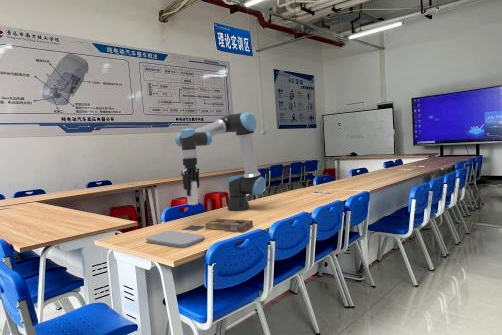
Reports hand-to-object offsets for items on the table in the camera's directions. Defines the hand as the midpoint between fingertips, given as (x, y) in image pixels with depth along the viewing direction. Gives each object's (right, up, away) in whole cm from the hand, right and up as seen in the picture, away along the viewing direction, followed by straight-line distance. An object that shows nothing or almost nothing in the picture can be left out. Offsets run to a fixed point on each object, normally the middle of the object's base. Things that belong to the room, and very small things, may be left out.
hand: (192, 201), depth 189 cm
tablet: (-5, -17, -22) cm, 29 cm away
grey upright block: (0, -2, 0) cm, 2 cm away
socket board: (+20, -14, -3) cm, 25 cm away
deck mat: (0, -15, +1) cm, 15 cm away
